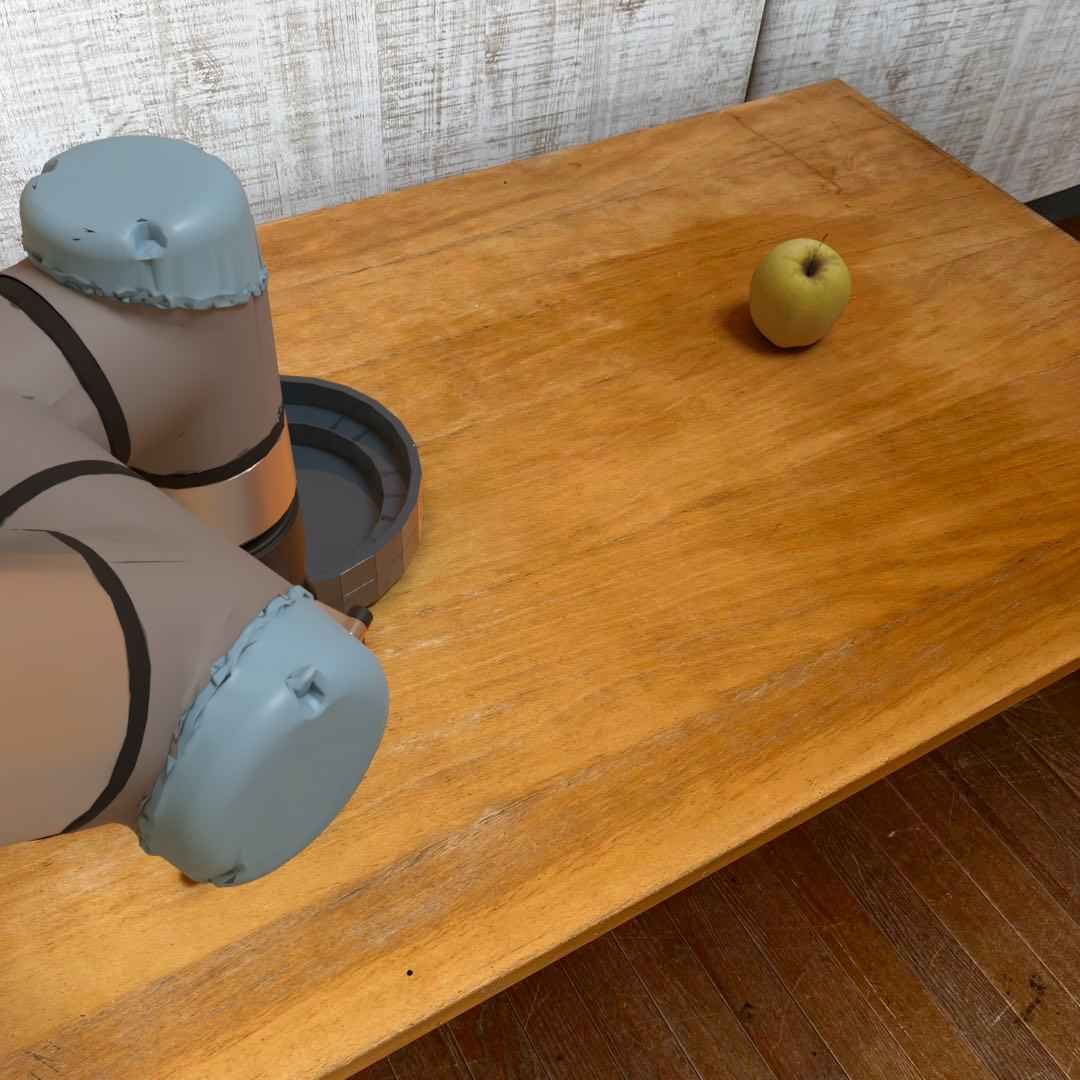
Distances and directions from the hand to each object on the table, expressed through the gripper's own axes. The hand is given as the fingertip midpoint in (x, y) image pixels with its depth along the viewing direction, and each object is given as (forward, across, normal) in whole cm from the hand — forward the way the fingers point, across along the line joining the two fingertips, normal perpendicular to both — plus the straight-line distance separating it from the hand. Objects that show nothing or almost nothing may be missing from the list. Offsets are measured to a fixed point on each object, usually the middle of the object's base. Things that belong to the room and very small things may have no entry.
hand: (275, 777), depth 67 cm
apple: (+1, +21, +53) cm, 57 cm away
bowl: (0, -9, +18) cm, 20 cm away
